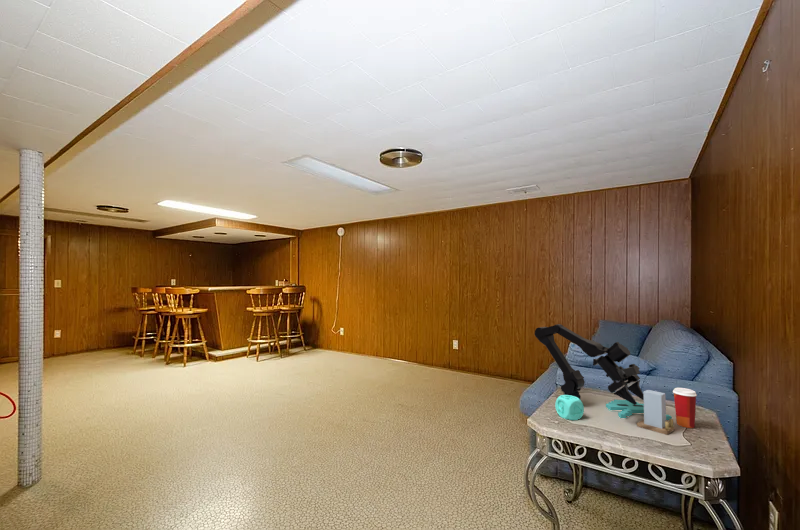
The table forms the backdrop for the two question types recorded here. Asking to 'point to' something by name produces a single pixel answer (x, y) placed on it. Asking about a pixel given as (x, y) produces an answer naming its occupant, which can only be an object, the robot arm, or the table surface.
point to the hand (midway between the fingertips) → (640, 402)
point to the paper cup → (685, 407)
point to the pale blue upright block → (654, 408)
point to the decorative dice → (569, 407)
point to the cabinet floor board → (665, 430)
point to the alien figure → (628, 408)
